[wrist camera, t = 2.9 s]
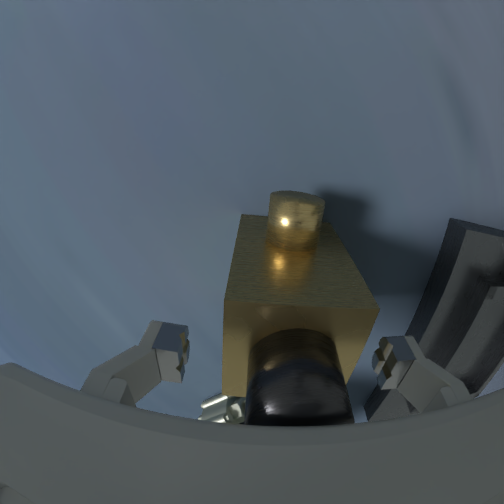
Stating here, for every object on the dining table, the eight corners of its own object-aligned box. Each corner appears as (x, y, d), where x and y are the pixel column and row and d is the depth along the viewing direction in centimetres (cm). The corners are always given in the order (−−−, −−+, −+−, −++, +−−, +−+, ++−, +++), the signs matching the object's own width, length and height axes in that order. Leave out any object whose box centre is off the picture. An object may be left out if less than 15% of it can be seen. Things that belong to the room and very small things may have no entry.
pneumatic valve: (294, 390, 22) (303, 518, 11) (205, 426, 26) (190, 523, 15) (252, 360, 20) (246, 511, 10) (164, 403, 24) (137, 507, 13)
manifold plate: (449, 218, 15) (489, 246, 11) (546, 243, 15) (572, 264, 11) (363, 406, 24) (372, 441, 20) (468, 387, 24) (481, 412, 20)
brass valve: (244, 178, 15) (207, 307, 5) (335, 189, 15) (449, 316, 5) (234, 314, 19) (215, 472, 9) (308, 319, 19) (333, 473, 9)
